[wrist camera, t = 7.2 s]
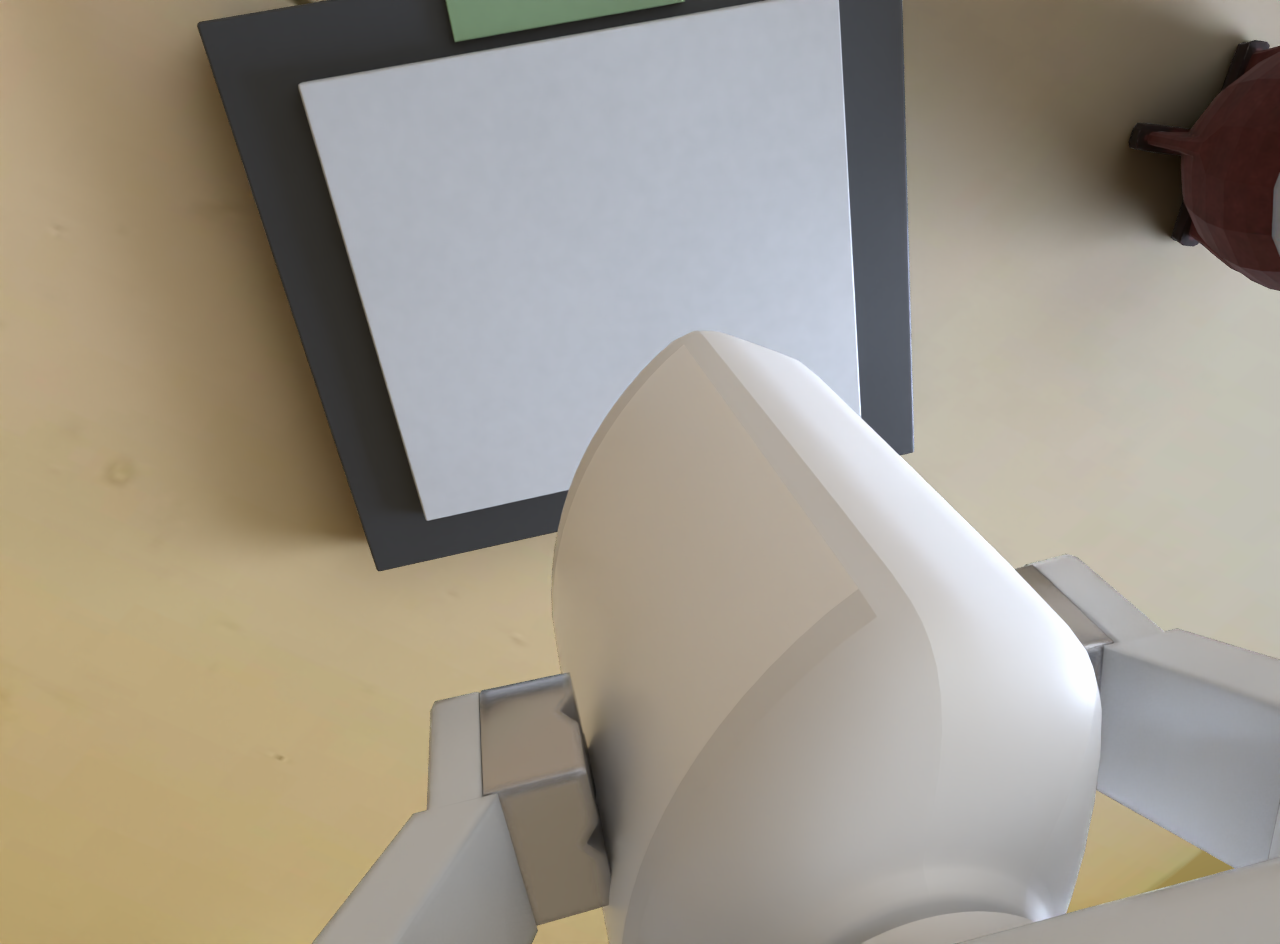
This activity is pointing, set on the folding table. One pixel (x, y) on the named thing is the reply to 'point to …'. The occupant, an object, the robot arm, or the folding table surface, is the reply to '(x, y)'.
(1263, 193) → the mate gourd
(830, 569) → the eye dropper bottle
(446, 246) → the scale
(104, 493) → the folding table surface
